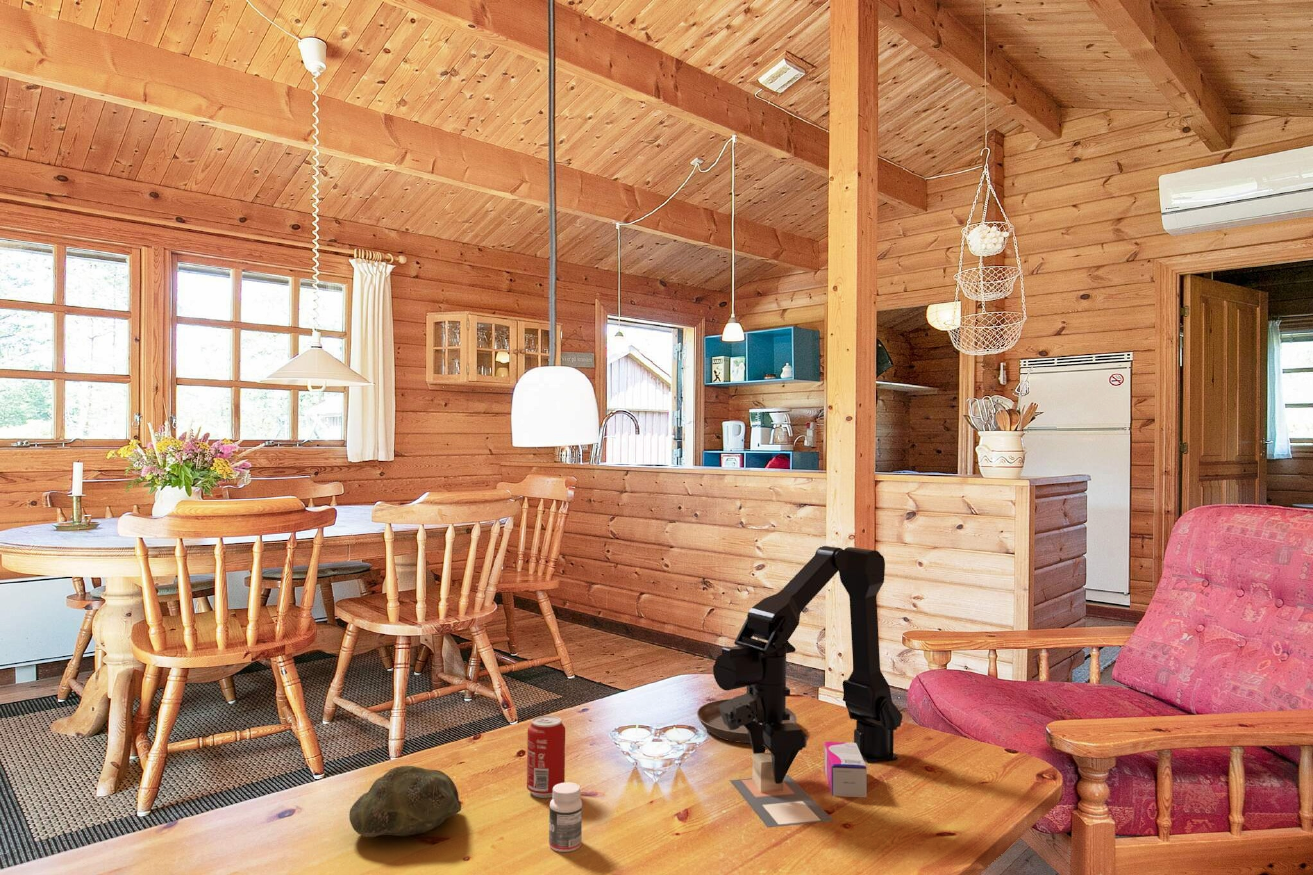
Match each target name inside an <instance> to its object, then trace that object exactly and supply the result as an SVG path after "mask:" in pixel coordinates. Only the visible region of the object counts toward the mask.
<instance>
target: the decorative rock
mask: <svg viewBox="0 0 1313 875" xmlns="http://www.w3.org/2000/svg"><path fill="white" fill-rule="evenodd" d="M461 810H462V805H461V802H460V799H459V792H458V789H457V787H456V784H455V782H454V781H453V780H452V778H451V777H450V776H449V775H448V774H446V773H445V772H444V771H442V770H441V771H440V770H437V769H427V768H423V767H420V766H414V765H401V766H397V767H393V768H392V769H390V770H388V771H387V772H386V773H384V775H383V776H381V777H378V778H377V779H376V780H374V782H373V783H372V785H371V786H370V788H369V790H368V791H367V792H365V793H363V794H362V795H361V796H359V797H358V799H357V800H355V802H354V803H353V804H352V806H351V807H350V809H349V822H350V824H351V827H352V829H353V830H354V831H355V832H356V833H357V834H358V835H360V836H363V837H366V838H374V837H378V836H396V837H397V836H400V837H407V836H412V835H414V836H418V835H421V834H423V833H426V832H428V831H432V830H433V829H434V828H437V827H438V826H440V825H441V824H443V823H444V821H445V820H447V819H448V818H451V817H452V816H454V815H456V814H459V813H460V811H461Z"/></svg>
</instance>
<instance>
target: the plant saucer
mask: <svg viewBox="0 0 1313 875" xmlns="http://www.w3.org/2000/svg"><path fill="white" fill-rule="evenodd" d="M730 699H731V698H729V699H727V698H726V699H725V698H724V699H720V700H714V701H711V702H707V703H706V704H703V705H702V706H700V707H699V708H698V710H697V712H696V715H697V716H696V717H697V718H698V720H699V722H700V723H701V725H702V726H703V727H704V728H705V729H706V730H707V731H708V732H709V733H711V735H713V736H715V737H717V738H720V739H722V740H726V741H730V742H735V743H743V744H744V743H745V744H746V743H747V744H751V742H750V738H749V734H748V731H747V729H746V727H745V726H744V725H743V726H740V727H739V728H738V729H735V730H730V729H729V728H728V726H727V725H726V724H724V722H723V719H722V716H721V713H720V710H719V707H718V706H719V705H720V704H721V703H723V702H725V701H728V700H730ZM786 711H787V712H788V713H789V714H790V720H782V724H783V723H794V724H795V725H796V723H797V720H798V717H797V715H796V714H795V712H793V710H791V709H789V708H787V707H786Z"/></svg>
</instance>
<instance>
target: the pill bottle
mask: <svg viewBox="0 0 1313 875" xmlns="http://www.w3.org/2000/svg"><path fill="white" fill-rule="evenodd" d="M580 797H581V786H580V785H579V784H578V783H575V782H567V781H566V782H565V783H560V784H557V785H555V786H554V787H553V794H552V797H551V800H550V801H549V819H548V820H549V821H548V822H549V824H548V827H549V828H548V829H549V831H548V832H549V833H548V845H549V847H550V849H552V850H553V851H555V852H559V853H569V852H574V851H576V850H578V849H579V848H580V847H581V845H582V842H583V841H582V839H583V837H582V831H583V830H582V829H583V828H582V827H583V826H582V825H583V824H582V822H583V801H582V799H581V798H580Z"/></svg>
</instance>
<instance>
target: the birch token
mask: <svg viewBox="0 0 1313 875" xmlns="http://www.w3.org/2000/svg"><path fill="white" fill-rule="evenodd" d="M751 778H752V783H753V784H754V785H755V787H756V788H757V789H758V790H759V791H760V792H761V793H762V792H773V791H783V781H782V783H780V784H776V783H775V781H774V775H773V766H772V758H771V752H770V751H769V752H765V753H758V754H752V777H751Z"/></svg>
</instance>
